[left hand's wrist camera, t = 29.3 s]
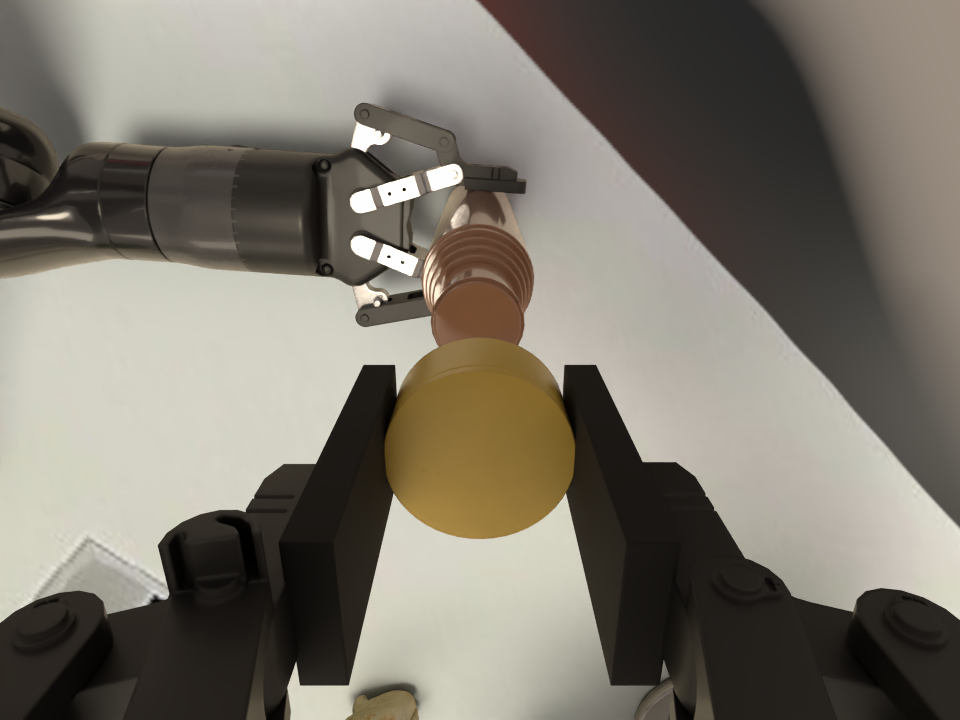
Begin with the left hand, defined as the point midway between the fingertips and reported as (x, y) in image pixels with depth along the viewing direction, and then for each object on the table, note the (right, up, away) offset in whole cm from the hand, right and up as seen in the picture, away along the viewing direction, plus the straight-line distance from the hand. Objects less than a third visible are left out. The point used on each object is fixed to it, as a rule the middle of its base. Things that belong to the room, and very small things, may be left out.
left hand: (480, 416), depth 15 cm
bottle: (0, +12, +29) cm, 32 cm away
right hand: (+2, +10, +23) cm, 25 cm away
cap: (0, -1, -2) cm, 2 cm away
